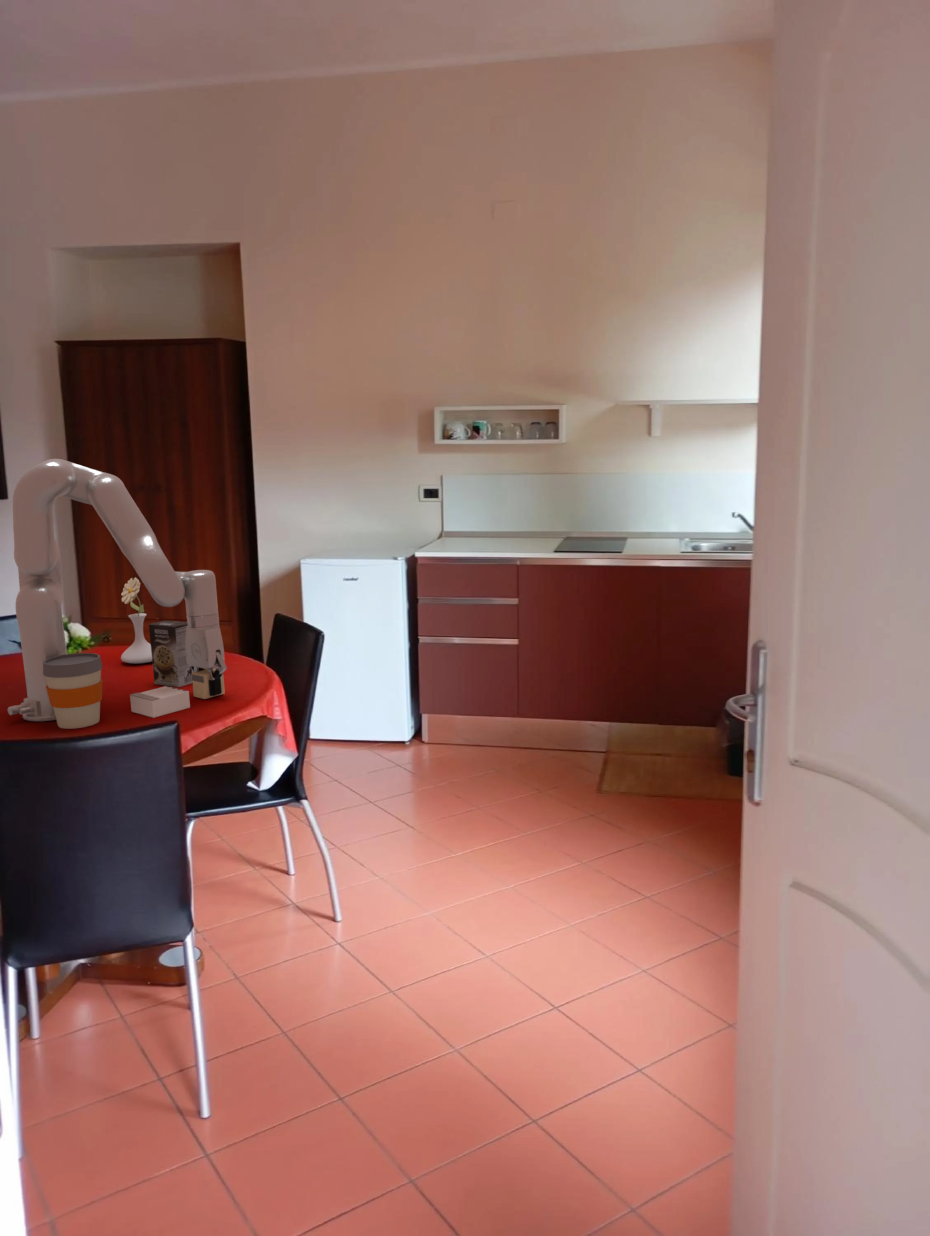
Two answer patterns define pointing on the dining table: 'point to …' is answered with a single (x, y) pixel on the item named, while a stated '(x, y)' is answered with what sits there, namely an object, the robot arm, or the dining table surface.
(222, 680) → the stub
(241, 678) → the dining table surface
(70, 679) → the reusable coffee cup
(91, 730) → the dining table surface
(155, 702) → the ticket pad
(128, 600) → the flower in vase
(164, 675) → the coffee box
